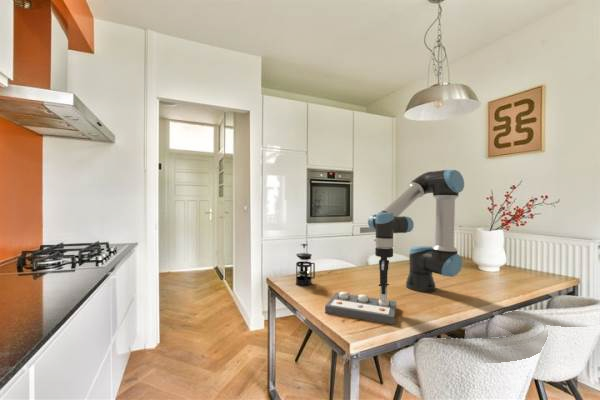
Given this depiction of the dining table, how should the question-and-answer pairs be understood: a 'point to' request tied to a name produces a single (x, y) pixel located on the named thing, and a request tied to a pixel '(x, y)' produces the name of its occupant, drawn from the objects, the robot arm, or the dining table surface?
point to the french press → (304, 278)
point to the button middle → (363, 298)
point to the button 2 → (384, 303)
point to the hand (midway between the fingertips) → (383, 300)
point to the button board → (362, 309)
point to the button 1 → (343, 295)
